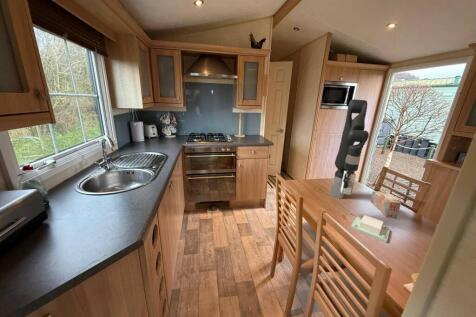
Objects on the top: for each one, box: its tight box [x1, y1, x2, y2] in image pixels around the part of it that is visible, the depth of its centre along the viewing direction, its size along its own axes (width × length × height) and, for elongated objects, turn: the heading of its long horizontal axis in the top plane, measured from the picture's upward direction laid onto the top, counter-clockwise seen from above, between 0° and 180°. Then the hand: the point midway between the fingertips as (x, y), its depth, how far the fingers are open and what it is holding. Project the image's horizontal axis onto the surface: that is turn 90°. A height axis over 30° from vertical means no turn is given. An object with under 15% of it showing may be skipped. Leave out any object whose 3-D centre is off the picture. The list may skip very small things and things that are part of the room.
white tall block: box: [340, 171, 357, 196], centre depth 123 cm, size 6×6×14 cm
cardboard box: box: [370, 190, 402, 219], centre depth 136 cm, size 21×6×12 cm, turn 172°
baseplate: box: [350, 214, 391, 243], centre depth 116 cm, size 18×14×6 cm
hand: (347, 185), depth 124 cm, fingers closed on white tall block, 7 cm apart
